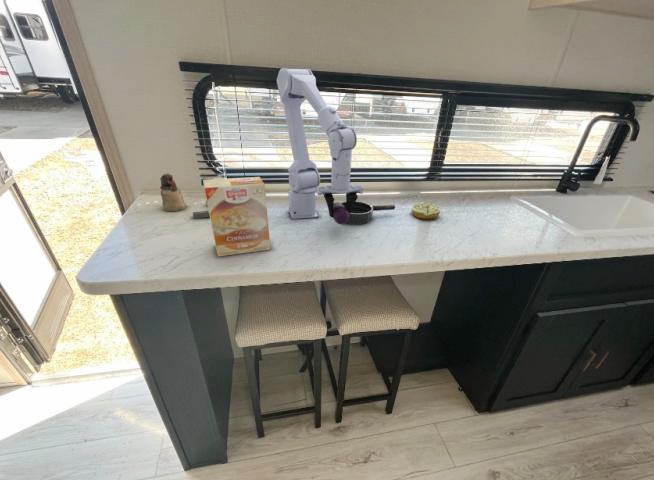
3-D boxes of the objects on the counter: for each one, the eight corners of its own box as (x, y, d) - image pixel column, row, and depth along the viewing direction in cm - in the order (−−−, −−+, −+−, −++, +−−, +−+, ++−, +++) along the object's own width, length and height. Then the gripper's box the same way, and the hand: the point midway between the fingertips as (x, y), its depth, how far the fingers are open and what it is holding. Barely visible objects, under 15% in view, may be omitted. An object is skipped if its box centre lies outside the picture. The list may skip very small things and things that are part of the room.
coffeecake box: (217, 257, 93) (203, 187, 82) (215, 246, 98) (201, 178, 87) (271, 250, 99) (265, 183, 87) (266, 239, 104) (259, 175, 92)
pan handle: (371, 211, 122) (371, 206, 121) (369, 209, 123) (370, 205, 122) (395, 210, 125) (396, 205, 124) (393, 208, 126) (394, 203, 125)
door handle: (190, 218, 107) (241, 212, 111) (195, 197, 123) (240, 193, 126) (193, 227, 109) (243, 222, 113) (197, 206, 125) (242, 201, 128)
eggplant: (350, 226, 106) (351, 211, 103) (335, 227, 105) (336, 212, 102) (340, 211, 115) (341, 197, 113) (326, 212, 114) (326, 198, 111)
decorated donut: (405, 214, 128) (406, 204, 126) (421, 208, 135) (423, 199, 132) (427, 222, 123) (429, 212, 120) (443, 216, 129) (445, 206, 127)
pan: (342, 226, 116) (342, 215, 113) (332, 212, 126) (333, 201, 123) (376, 223, 119) (378, 212, 117) (365, 210, 129) (365, 200, 127)
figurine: (178, 203, 124) (170, 169, 117) (189, 207, 121) (182, 173, 114) (160, 207, 119) (150, 173, 112) (171, 213, 116) (161, 178, 109)
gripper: (320, 177, 95) (320, 222, 103) (368, 176, 99) (364, 219, 107) (315, 170, 101) (315, 213, 109) (360, 169, 105) (357, 211, 113)
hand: (339, 215), depth 108 cm, fingers closed on eggplant, 5 cm apart
